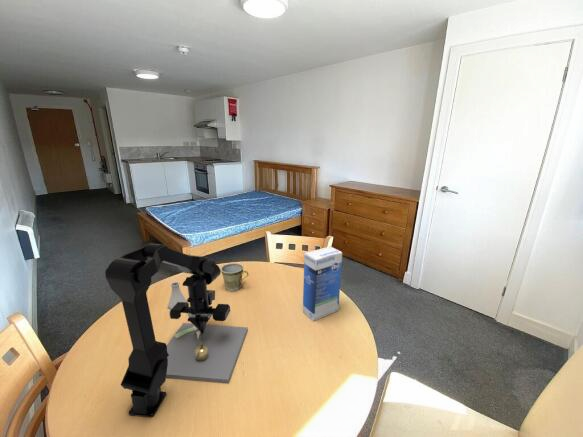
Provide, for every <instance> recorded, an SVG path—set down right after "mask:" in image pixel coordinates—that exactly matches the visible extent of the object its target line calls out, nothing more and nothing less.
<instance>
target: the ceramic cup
mask: <svg viewBox="0 0 583 437" xmlns="http://www.w3.org/2000/svg"><path fill="white" fill-rule="evenodd" d="M220 270H221V276H222V279H223V282H224V286H225V289H226V290H227V291H228V292H229V291H231V292H234V291H238V290H239V289H241V285H242V281H244V280H245V279H246V278H247V277H249V272H248V271H247V270H244V265H243V264H241V263H237V262H235V263H233V262H231V263H227V264H224V265H223V266H221V268H220ZM244 273H245V274H246V276H245V277H243V274H244Z"/></svg>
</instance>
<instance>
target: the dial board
mask: <svg viewBox="0 0 583 437" xmlns="http://www.w3.org/2000/svg"><path fill="white" fill-rule="evenodd" d="M248 329H249V328H248V327H245V326H232V325H220V324H219V325H218V324H217V325H216V324H207V323H206V327H205V331H204V333H203V334H202V333H201V339H202V344H204V345H207V347H208V357H207V358H206V359H205V360H203V361H198V360H197V359H196V354H195V349H196V347H197V346H198V341H197V335H196V334H194V328H193V324H192V323H191V322H182V324H181V326H180V327H179V328H178V329H177V330H176V331H175V333H174V335H173V336H172V337H171V339H170V340H169V342H168V343H166V345H167V353H168V354H169V356H168V357H167V358H168V366H167V374H166V379H167V378H168V379H178V380H190V381H200V382H209V383H210V382H211V383H222V384H229V383H230V380H231V378H232V375H233V372H234V369H235V368H236V364H237V362H238V358H239V356H240V353H241V350H242V348H243V344H244V343H245V342H244V341H245V339H246V336H247V333H248V331H249V330H248Z"/></svg>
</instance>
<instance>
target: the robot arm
mask: <svg viewBox="0 0 583 437" xmlns="http://www.w3.org/2000/svg"><path fill="white" fill-rule="evenodd" d="M147 260H149V261H148V262H147ZM162 263H164V264H166V265H170V266H175V267H177V268H178V270H179V271H181V272H182V273H185V274H188V275H190V276H187V277H186V278H185V280H184V281H183V282H182V286H183V287H184V286H185V287H187V294H188V298H187V299H186V301H187V302H177V303H176V305H175V306H174V307H173V308H172V309H169V312H168V313H169V318H170V319H171V320H179V319H180V318H181V317H182V314H187V316H188V318H187V322H188V323H192V324H193V325H195V326H196V327H197V329H198V330H199V331H200V332H201V333H202V334H203V333H204V331H205V327H206V324H207V323H208V322H209V321H210V319H211V318H212V319H213V320H214V322H225V321H226V320H227V319H228V316H229V315H230V312H231V306H230V304H228V303H217V305H216V307H214V306H212V304H213V302H214V301H215V300H216V290H213V289H208V287H207V286H208V285H211V284H212V283H213V282H214V281H215V280H216V279H217V278H218V277H219V276H221V274H222V272H221V268H220V266H219V265H218V264H216V261H215V260H213V259H210V260H208V258H207V256H201V255H200V256H199V255H191V254H187V253H183V252H182V251H178V250H175V249H173V248H171V247H168V246H166V245H165V244H161V243H151V242H150V243H146V244H144V245H143V246H142V247H140V248H138V249H135V250H133V251H129V252H127V253H125V254H123V255H121V256H119V257H118V258H115V259H114V260H112V261H111V262H110V263H109V265H108V266H107V268H106V269H105V279H106V281H107V283H108V285H109V288H110V290H112V291H113V292H114V294H115V295H117V297H118V298H119V299H121V303H122V307H123V312H124V316H125V319H126V320H125V321H126V324H127V329H128V333H129V336H130V342H131V345H132V346H131V347H132V351H131V353H130V354H129V356H128V358H127V359H128V366H127V369H126V371H125V374H124V376H123V378H122V380H121V382H120V386H121V388H123V389H125V390H126V389H127V390H129V391H131V394H130V396H131V402H132V406H131V408H130V409H129V410H128V415H129V416H137V417H138V416H139V417H148V418H152V417H154V416H155V414H157V411H158V409H159V407H160V406H161V404H162V403H163V400H164V399H165V397H166V396H167V391H162V386H163V385H164V384H165V382H166V380H167V378H166V374H167V366H168V358H167V357H168V356H169V354H168V353H167V343H165V342H162V341H158V340H156V335H155V330H154V325H153V320H152V316H151V309H150V305H149V300H148V295H147V292H148V290H149V288H150V286H151V285H152V277H153V276H155V275H156V274H157V273H158V272H159V271H160V268H161V264H162Z"/></svg>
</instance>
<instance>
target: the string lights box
mask: <svg viewBox="0 0 583 437" xmlns="http://www.w3.org/2000/svg"><path fill="white" fill-rule="evenodd" d="M303 255H304V256H303V258H304V259H303V287H302V288H303V290H302V291H303V293H302V295H303V296H302V313H304V315H306V316H307V317H308V319H310V320H311V322H314V321H317V320H319V319H322V318H324V317H326V316H329V315H332V314H334V313H336V312H338V311H339V310H340V309H339V307H340V306H339V305H340V290H341V289H340V288H341V279H342V278H341V276H342V265H343V252H342V251H340V250H339V249H337V248H334V247H333V246H326V247H323V248H318V249H314V250H311V251H307V252H304V254H303Z"/></svg>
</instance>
